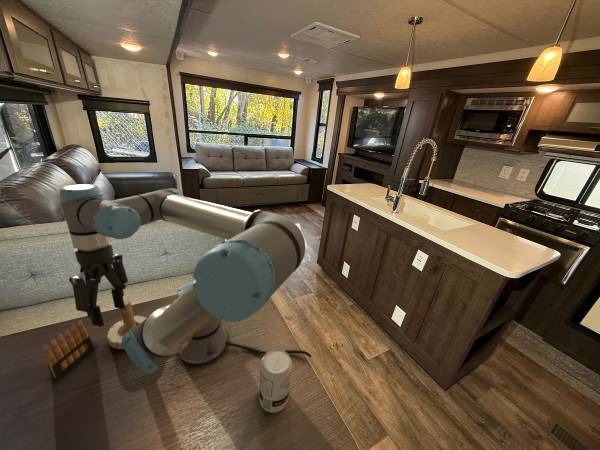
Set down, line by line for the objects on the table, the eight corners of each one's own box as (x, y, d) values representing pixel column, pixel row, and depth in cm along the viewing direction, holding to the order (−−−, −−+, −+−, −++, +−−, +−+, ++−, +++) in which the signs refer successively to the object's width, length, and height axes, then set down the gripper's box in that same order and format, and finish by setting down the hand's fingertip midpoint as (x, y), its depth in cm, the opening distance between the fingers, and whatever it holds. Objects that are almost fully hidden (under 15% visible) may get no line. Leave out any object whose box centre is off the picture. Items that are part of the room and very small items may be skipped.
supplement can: (261, 382, 72) (263, 345, 66) (289, 385, 72) (293, 348, 66) (256, 412, 65) (257, 374, 59) (287, 415, 65) (291, 377, 59)
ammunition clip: (57, 379, 68) (43, 348, 63) (51, 377, 68) (37, 346, 63) (94, 347, 77) (84, 318, 73) (89, 346, 78) (79, 317, 73)
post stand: (154, 328, 86) (147, 295, 80) (134, 350, 78) (126, 315, 72) (130, 324, 87) (122, 291, 81) (109, 345, 79) (98, 309, 73)
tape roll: (157, 327, 85) (156, 321, 84) (127, 353, 75) (125, 347, 74) (132, 317, 88) (131, 312, 87) (100, 341, 78) (98, 335, 77)
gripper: (111, 229, 73) (124, 293, 81) (37, 261, 55) (63, 339, 63) (135, 232, 72) (145, 297, 80) (67, 266, 54) (90, 344, 62)
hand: (109, 315), depth 72 cm, fingers open, 7 cm apart
